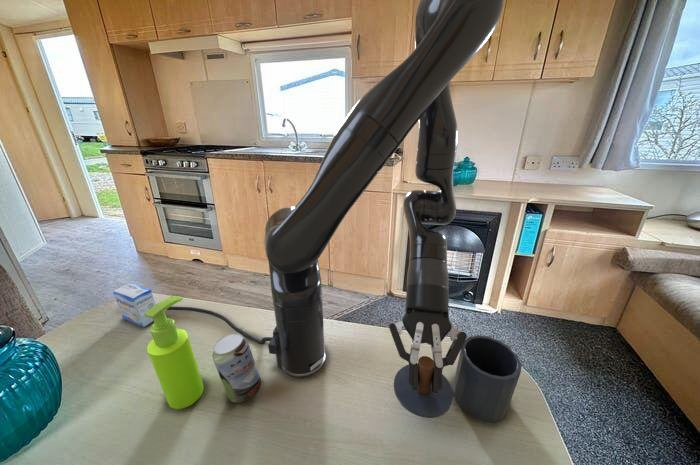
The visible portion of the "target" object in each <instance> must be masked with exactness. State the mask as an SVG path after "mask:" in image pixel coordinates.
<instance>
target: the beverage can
mask: <svg viewBox="0 0 700 465" xmlns="http://www.w3.org/2000/svg"><path fill="white" fill-rule="evenodd" d="M212 350H213V351H212V353H211V354H212V356H211V357H212V361H213V363H214V366H215V368H216V371H217V373H218V376H219V378H220V381H221V383H222V385H223V388H224V391H225V392H226V393H225V394H226V395H227V397H228V399H229V401H231V402H232V403H236V404H237V403H239V404H240V403H243V402H247V401H248V400H250V399H251V398H253V397H254V396H255V395H256V394H257V393H258V391H259V390H260V388H261V387H262V386H261V385H262V379H261V375H260V373H259V370H258V367H257V364H256V361H255V358H254V355H253V352H252V349H251V346H250V344H249V341H248V338H246V337H245V336H243V335H241V334H240V333H238V332H235V333H234V332H233V333H229V334H227V335H224V336H223V337H221V338H220V339H218V340H217V341H216V342H215V344H213V347H212Z"/></svg>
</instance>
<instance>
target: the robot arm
mask: <svg viewBox="0 0 700 465" xmlns="http://www.w3.org/2000/svg"><path fill="white" fill-rule="evenodd" d="M504 3H505V1H504V0H419V1H418V5H417V8H416V12H415V19H414V44H415V48H414V50H413V51H412V52H411V53H410V54H409V56H407V58H405V59H404V60H403V61H402V62H401V63H400V64H398V65H397V66H396V67H395V68H394V69H393V70H392V71H390V72H389V73H388V74H386V75H385V76H384V77H383V78H382V79H380V80H379V81H378V82H377V83H376V84H374V86H372V87H371V88H370V89H369V90H368V91H367V92H366V93H365V94H364V95H363V96H362V97H361V98H360V99H359V100H358V101H357V102H356V104H355V105H354V106H353V107H352V109H351V110H350V112H349V113H348V114H347V116H346V117H345V119H344V120H343V122H342V123H341V124H340V126H339V127H338V129H337V130H336V131H335V133H334V135H333V137H332V139H331V140H330V143H329V145H328V146H327V149H326V151H325V153H324V156H323V158H322V159H321V162H320V165H319V166H318V170H317V172H316V175H315V176H314V179H313V181H312V183H311V184H310V186H309V188H308V190H307V191H306V192H305V194H304V195H303V196H302V198H301V199H299V201H298V203H297V204H296V205H295V206H287V207H285V206H284V207H283V208H279V209H278V210H276V211H274V212H273V213H271V215H270V216H269V218H268V219H267V221H266V223H265V227H264V252H265V255H266V259H267V261H268V268H269V270H268V271H269V281H270V290H271V297H272V303H273V311H274V319H275V327H274V329H273V330H272V336H264V337H262V338H261V339H259V338H256V337H255V336H252V335H250V334H249V333H247V332H245V331H244V330H242V329H241V328H239V327H237V326H236V325H235V324H234V323H233V322H232V321H231V320H230V319H228V317H226V316H224V315H222V314H220V313H218V312H216V311H213V310H209V309H206V308H205V309H204V308H198V307H193V306H171V307H169V308H168V309H167V310H168V311H191V312H197V313H202V314H203V313H204V314H208V315H211V316H213V317H216V318H218V319H220V320H222V321H224V322H225V323H226V324H227V325H228V326H229V327H230V328H231V329H233V331H235V332H236V333H238V334H241V335H242V337H244V338H246V339H247V340H249V341H253V342H255V343H257V344H260V345H265V344H266V342H268V343H267V346H268V353H269V354H271V355H275V357H276V362H277V363H276V366H277V368H280V369H281V370H283V372H284V373H285V374H286V375H288V376H289V377H292V378H298V379H299V378H307V377H310V376H313V375H314V374H316V373H318V372H319V371H320V370H321V369H322V368H323V366H324V364H325V362H326V347H325V329H324V327H325V326H324V308H323V289H322V288H323V287H322V276H321V271H320V265H319V264H320V263H319V258H320V257H321V256H322V254H323V252H324V251H325V250H326V247H327V246H328V244H329V243H330V241H331V239H332V238H333V236H334V235H335V233H336V231H338V230H337V229H338V228H339V226H340V225H341V223H342V221H343V220H344V218H345V217H346V216H347V214H348V213H349V212H350V210H351V209H352V207H353V206H354V205H355V204H356V202H357V201H358V200H359V199H360V197H361V196H362V195H363V194H364V192H365V191H366V190H367V188H368V187H369V186H370V184H371V183H372V182H373V180H374V179H375V178H376V177H377V176H378V174H379V173H380V172H381V170H383V168H384V167H385V166H386V164H387V163H388V162H389V160H390V159H391V158H392V157H393V155H394V154H395V152H396V151H397V150H398V149H399V147H400V146H401V145H402V143H403V142H404V141H405V139H406V138H407V136H408V135H409V133H410V132H411V131H412V130H413V128H414V127H415V126H416V124H417V123H418V133H417V134H418V135H417V145H416V156H415V157H416V158H415V159H416V160H415V169H414V170H415V171H414V172H415V177H416V179H418V180H419V181H420V182H423V183H426V184H430V185H433V186H435V187H438V189H439V190H427V189H425V190H424V189H413V190H410V191H409V192H408V193H406V195H405V196H404V199H403V204H402V208H403V209H402V210H403V215H404V219H405V221H406V225H407V229H408V234H409V257H408V258H409V259H408V260H409V262H408V268H407V275H406V280H405V281H406V282H405V283H406V292H405V295H406V296H405V311H404V315H403V317H402V319H401V320H400V321H397V322H394V323H393V322H391V323H389V325H388V329H389V332H390V334H391V337H392V340H393V342H394V345H395V348H396V350H397V353H398V356H399V358H401V359H402V360H404V361H406V362H407V363H408V364H409V377H408V381H409V384H410V385H412V389H413V390H417V388H418V365H417V363H418V360H419V354H420V349H421V344H426V345H427V344H428V345H430V348H431V354H432V360H433V361H434V371H433V377H432V392H433V393H438V389H439V390H441V388H442V374H443V369H444V368H445V367H448V366H454V364H455V362H456V360H457V358H458V356H459V355H460V351H461V348H462V346H463V344H464V342H465V340H466V339H467V338H468V336H467V335H468V334H467V333H466V332H465V331H460V330H459V329H458V328H456V327H454V326H452V325H453V324H452V321H451V319H450V316H449V315H450V314H449V312H450V311H449V308H450V306H449V305H450V304H449V303H450V301H449V296H450V294H449V291H450V290H449V283H450V282H449V280H450V279H449V278H450V277H449V269H448V241H447V237H446V236H445V235H444V234H443V233H441V232H438V231H436V230H432V229H429V228H427V227H425V226H424V225H434V226H446V225H449V224H451V222H452V221H453V220H454V219H455V217H456V214H457V203H456V202H457V201H456V197H455V196H456V195H455V191H454V190H455V189H454V169H455V161H456V156H457V149H458V141H459V130H458V122H457V117H456V113H455V109H454V105H453V100H452V95H451V94H452V93H451V86H450V83H451V81H452V80H453V79H454V78H455V77H456V76H457V75H458V74H459V73H460V72H461V70H462V69H463V68H464V67H465V66H466V65H467V64H468V63H469V62H470V61H471V59H472V58H474V56H475V55H476V54H477V53H478V52H479V51H480V50H481V48H482V47H483V46H484V45H485V44H486V42H487V41H488V40H489V39H490V37H491V36H492V35H493V32H494V31H495V29H496V27H497V25H498V22H499V21H500V18H501V14H502V13H503V12H502V11H503V7H504ZM167 310H166V311H167ZM403 327H404V328H405V330H406V332H407V334H408V336H409V338H411V345H410V352H408V351H406V348H405V346H404V344H403V341H402V338H401V336H400V335H402V333H403ZM449 333H450V340H451V344H450V346H449V347H448V350H447V352H446V355H445V356H443V348H442V342H443V340H444V339H445V338H446V337H447V335H448V334H449Z"/></svg>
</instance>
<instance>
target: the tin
mask: <svg viewBox="0 0 700 465" xmlns="http://www.w3.org/2000/svg"><path fill="white" fill-rule="evenodd" d="M458 356H459V357H458V360H457V366H456V370H455V375H454V379H453V384H452V391H453V398H454V400H455V402H456V403H457V405H458V406H459V407H460V409H462V410H463V411H464V412H465V413H466V414H467V415H468V416H470V417H471V418H474V419H475V420H478V421H481V422H486V423H495V422H496V423H497V422H499V421H501V420H503V419H504V417H505V416H506V415H507V413H508V410H509V407H510V404H511V402H512V398H513V395H514V394H515V390H516V387H517V384H518V381H519V380H520V379H519V378H520V376H521V373H522V365H523V364H522V361H521V360H520V358H519V356H518V354H517V353H516V351H514V350H513V349H512V348H511V347H510V346H509V345H507V344H505V343H504V342H502V341H501V340H499V339H497V338H494V337H490V336H486V335H479V334H478V335H472V336H469V337H466V339H465V342H464V344H463V346H462V348H461V350H460V352H459V355H458Z"/></svg>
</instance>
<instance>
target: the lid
mask: <svg viewBox="0 0 700 465" xmlns="http://www.w3.org/2000/svg"><path fill="white" fill-rule="evenodd" d="M417 365H418V388H417V390H413V389H412V385H410V384H409V381H408V377H409V363H408V364H406V365H404V366H402V367H401V368H399V370H398V371H397V372H396V373H395V375H394V379H393V391H394V394H395V395H394V396H395V397H396V399H397V400H398V402H399V403H400V405H401V406H402V407H403V408H404V409H405V410H406V411H407V412H410V413H411V414H412V415H415V416H416V417H419V418H424V419H435V418H439V417H442V416H443V415H445V414H446V413H447V412H448V411H449V410H450V408H451V407H452V404H453V400H454V394H453V387H452V385H451V384H450V381H449V380H448V379H447V377H446V376H445V374H443V373H442V388H441V390H439V389H438V393H433V392H432V377H433V371H434V361H433V358H431V357H430V356H427V355H421V356H420V357H418V360H417Z"/></svg>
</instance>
